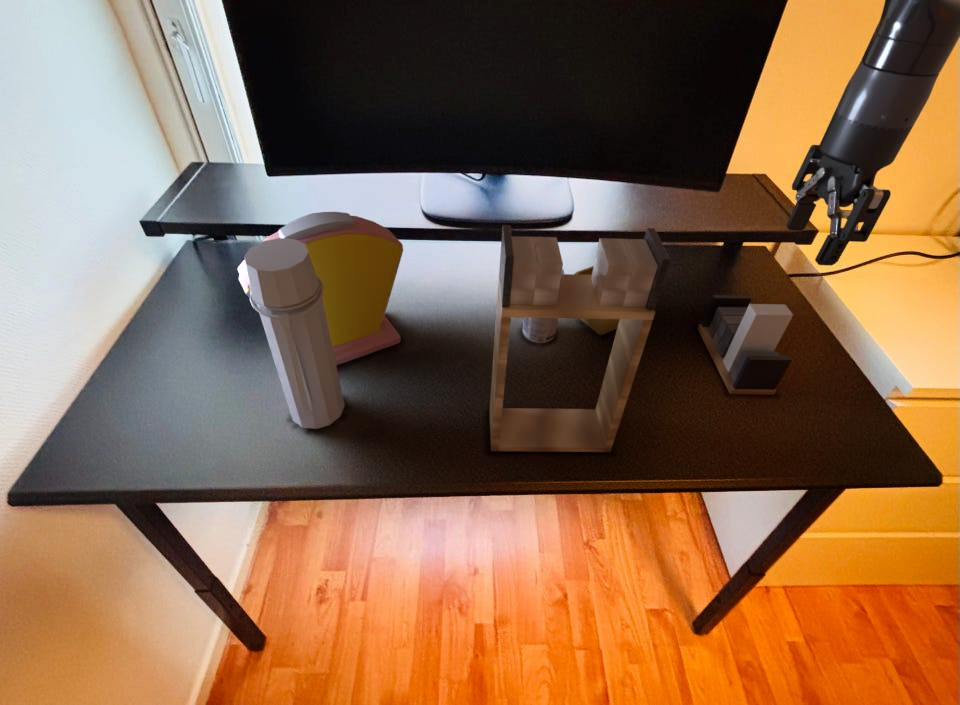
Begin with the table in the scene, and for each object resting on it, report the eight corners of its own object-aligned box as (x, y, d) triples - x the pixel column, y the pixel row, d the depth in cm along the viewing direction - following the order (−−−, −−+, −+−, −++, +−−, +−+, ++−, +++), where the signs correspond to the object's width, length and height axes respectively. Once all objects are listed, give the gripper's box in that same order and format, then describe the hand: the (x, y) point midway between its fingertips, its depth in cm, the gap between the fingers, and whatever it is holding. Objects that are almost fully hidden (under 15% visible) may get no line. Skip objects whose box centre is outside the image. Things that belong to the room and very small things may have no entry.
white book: (762, 372, 80) (793, 315, 73) (728, 372, 80) (756, 314, 73) (755, 361, 82) (785, 304, 74) (722, 361, 82) (749, 303, 74)
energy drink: (555, 324, 88) (565, 263, 80) (554, 345, 85) (565, 283, 76) (523, 321, 89) (530, 259, 81) (521, 342, 85) (528, 279, 77)
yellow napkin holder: (392, 307, 90) (380, 187, 76) (417, 338, 85) (409, 214, 70) (260, 350, 81) (218, 223, 67) (277, 388, 76) (236, 258, 61)
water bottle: (291, 395, 75) (243, 237, 58) (348, 389, 76) (318, 233, 59) (284, 447, 68) (228, 286, 51) (347, 440, 69) (312, 281, 52)
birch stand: (601, 413, 74) (637, 283, 59) (610, 452, 69) (653, 320, 55) (489, 412, 74) (498, 280, 59) (490, 451, 69) (501, 317, 54)
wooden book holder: (637, 283, 59) (653, 226, 55) (653, 320, 55) (672, 261, 50) (498, 280, 59) (502, 223, 54) (501, 317, 54) (505, 258, 49)
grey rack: (774, 394, 78) (794, 359, 73) (729, 394, 78) (747, 359, 73) (736, 329, 89) (751, 295, 85) (697, 328, 89) (710, 294, 84)
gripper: (953, 139, 52) (866, 278, 63) (875, 94, 62) (812, 220, 73) (876, 135, 52) (803, 275, 63) (811, 91, 62) (758, 217, 73)
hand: (808, 245), depth 68 cm, fingers open, 8 cm apart
